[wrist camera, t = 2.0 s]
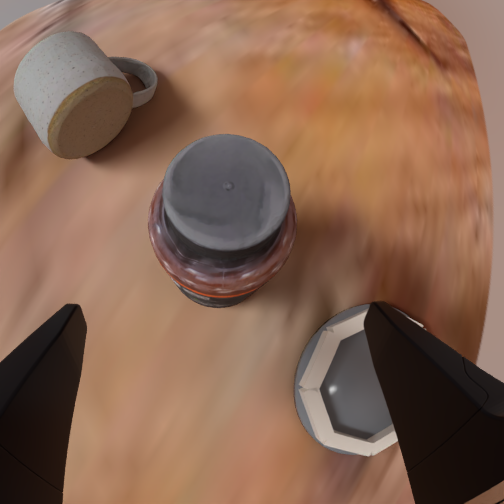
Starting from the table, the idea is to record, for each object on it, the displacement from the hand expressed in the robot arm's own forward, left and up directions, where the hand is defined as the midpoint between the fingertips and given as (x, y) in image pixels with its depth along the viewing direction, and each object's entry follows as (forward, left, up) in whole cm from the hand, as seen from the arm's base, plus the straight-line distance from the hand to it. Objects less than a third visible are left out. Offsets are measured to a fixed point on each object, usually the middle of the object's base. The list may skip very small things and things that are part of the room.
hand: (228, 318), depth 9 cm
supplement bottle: (+3, +2, -11) cm, 12 cm away
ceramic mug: (+10, +16, -11) cm, 22 cm away
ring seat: (0, -11, -11) cm, 16 cm away
